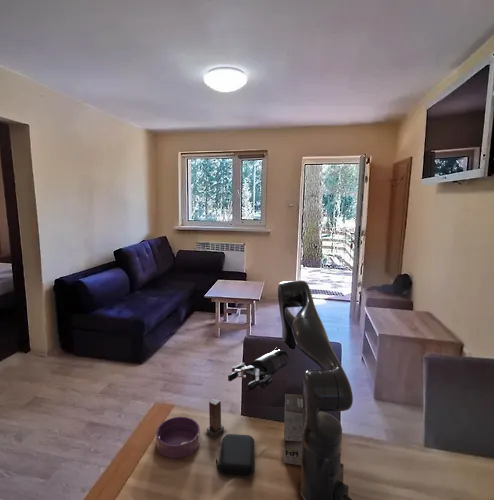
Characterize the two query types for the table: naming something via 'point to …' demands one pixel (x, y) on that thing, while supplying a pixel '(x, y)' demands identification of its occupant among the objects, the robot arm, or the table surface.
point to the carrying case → (236, 455)
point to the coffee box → (293, 429)
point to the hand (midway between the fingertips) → (238, 383)
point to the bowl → (178, 437)
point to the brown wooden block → (215, 418)
